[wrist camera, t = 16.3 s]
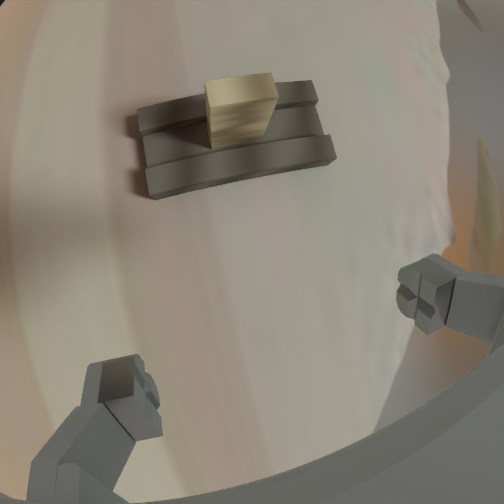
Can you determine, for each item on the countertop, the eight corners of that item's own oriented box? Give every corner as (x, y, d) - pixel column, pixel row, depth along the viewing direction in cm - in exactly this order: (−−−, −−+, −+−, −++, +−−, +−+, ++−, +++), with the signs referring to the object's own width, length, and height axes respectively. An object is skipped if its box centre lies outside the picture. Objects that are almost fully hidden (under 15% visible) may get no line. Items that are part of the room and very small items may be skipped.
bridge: (154, 200, 32) (149, 195, 29) (142, 120, 32) (136, 109, 29) (327, 165, 34) (336, 157, 31) (305, 91, 34) (311, 80, 31)
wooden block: (211, 149, 31) (210, 107, 21) (207, 128, 31) (204, 81, 21) (261, 140, 32) (279, 97, 22) (256, 119, 32) (271, 72, 22)
